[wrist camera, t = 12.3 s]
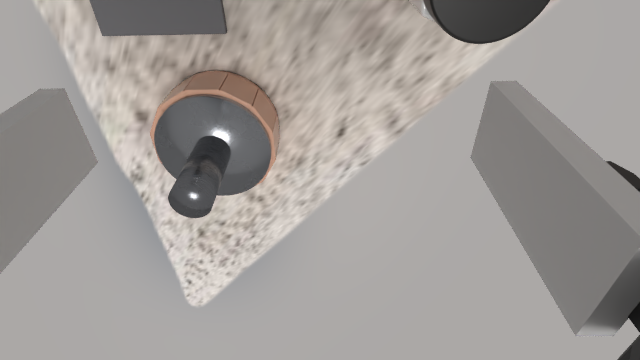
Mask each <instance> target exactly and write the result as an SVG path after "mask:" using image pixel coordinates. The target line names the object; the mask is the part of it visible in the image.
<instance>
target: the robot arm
mask: <svg viewBox="0 0 640 360" xmlns="http://www.w3.org/2000/svg"><path fill="white" fill-rule="evenodd" d="M471 159H472V161H473V163H474V164H475V166H476V168H477V169H478V171H479V173H480V174H481V176H482V178H483V180H484V181H485V183H486V185H487V186H488V188H489V190H490V191H491V193H492V195H493V197H494V198H495V200H496V201H497V203H498V205H499V207H500V208H501V210H502V212H503V214H504V215H505V217H506V219H507V220H508V222H509V224H510V225H511V227H512V229H513V230H514V232H515V234H516V236H517V237H518V239H519V240H520V242H521V244H522V246H523V247H524V249H525V251H526V252H527V254H528V256H529V258H530V259H531V261H532V263H533V264H534V266H535V268H536V270H537V271H538V273H539V275H540V276H541V278H542V280H543V281H544V283H545V285H546V287H547V288H548V290H549V292H550V293H551V295H552V297H553V298H554V300H555V302H556V304H557V305H558V307H559V308H560V310H561V312H562V314H563V315H564V317H565V319H566V320H567V322H568V324H569V326H570V327H571V329H572V331H573V332H574V334H575V336H614V335H615V334H616V332H617V331H618V330H619V329H620V328H621V327H622V325H623V324H624V323H625V321H626V320H627V319H628V318H629V319H630V320H631V321H632V323H633V324H634V326H635V327H636V328H637V329H638V331H639V332H640V179H639V178H638V177H637V176H636V175H634V174H633V173H632V172H630V171H628V170H626V169H624V168H622V167H620V166H618V165H617V164H615V163H612V162H611V161H605V160H603V159H602V158H601V157H600V156H599V155H598V154H597V153H596V152H595V151H593V150H592V149H591V148H590V147H589V146H588V145H587V144H586V143H585V142H583V141H582V140H581V139H580V138H579V137H578V136H577V135H576V134H575V133H573V132H572V131H571V130H570V129H569V128H568V127H567V126H566V125H565V124H563V123H562V122H561V121H560V120H559V119H558V118H557V117H556V116H555V115H554V114H552V113H551V112H550V111H549V110H548V109H547V108H546V107H545V106H544V105H542V104H541V103H540V102H539V101H538V100H537V99H536V98H535V97H533V96H532V95H531V94H530V93H529V92H528V91H527V90H526V89H525V88H524V87H522V86H521V85H520V84H519V83H518V82H517V81H491V84H490V87H489V91H488V94H487V98H486V102H485V105H484V109H483V113H482V117H481V120H480V124H479V128H478V132H477V136H476V139H475V143H474V146H473V150H472V154H471ZM97 163H98V161H97V159H96V157H95V154H94V152H93V150H92V148H91V146H90V144H89V141H88V139H87V137H86V135H85V133H84V131H83V128H82V126H81V124H80V122H79V120H78V117H77V115H76V113H75V111H74V109H73V106H72V104H71V102H70V100H69V98H68V95H67V93H66V91H65V89H39V90H37V91H36V92H34V93H33V94H31V95H30V96H28V97H27V98H25V99H23V100H22V101H20V102H19V103H17V104H16V105H14V106H13V107H11V108H9V109H8V110H6V111H5V112H4V113H2V114H0V273H1V272H2V271H3V270H4V269H5V268H6V266H7V265H8V264H9V263H10V262H11V261H12V260H13V259H14V258H15V256H16V255H17V254H18V253H19V252H20V251H21V250H22V248H23V247H24V246H25V245H26V244H27V243H28V242H29V240H30V239H31V238H32V237H33V236H34V235H35V234H36V232H37V231H38V230H39V229H40V228H41V227H42V226H43V224H44V223H45V222H46V221H47V220H48V219H49V218H50V217H51V215H52V214H53V213H54V212H55V211H56V210H57V208H58V207H59V206H60V205H61V204H62V203H63V202H64V201H65V199H66V198H67V197H68V196H69V195H70V194H71V193H72V192H73V190H74V189H75V188H76V187H77V186H78V185H79V184H80V182H81V181H82V180H83V179H84V178H85V177H86V176H87V174H88V173H89V172H90V171H91V170H92V169H93V168H94V167H95V165H96V164H97ZM618 360H640V335H639V336H638V337H637V339H636V340H635V341H634V342H633V343H632V344H631V345H630V346H629V347H628V348H627V350H626V351H625V352H624V353H623V354H622V355H621V356H620V357H619V359H618Z"/></svg>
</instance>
